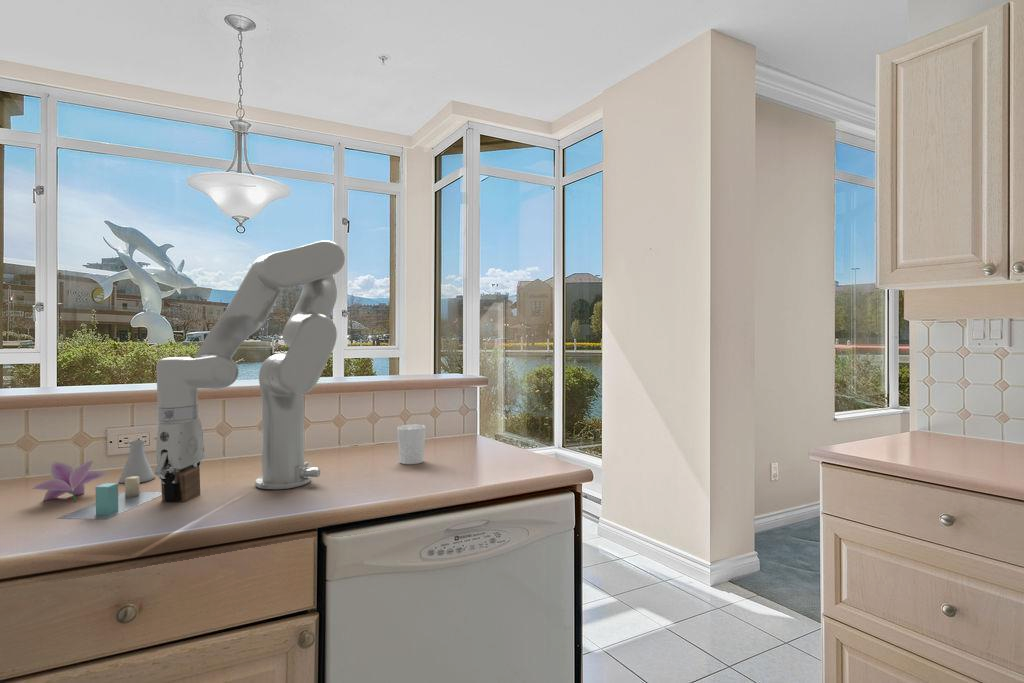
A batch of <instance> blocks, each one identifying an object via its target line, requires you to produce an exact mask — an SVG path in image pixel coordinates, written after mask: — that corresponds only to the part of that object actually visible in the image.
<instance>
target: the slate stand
mask: <svg viewBox="0 0 1024 683" xmlns="http://www.w3.org/2000/svg"><path fill="white" fill-rule="evenodd" d="M124 488H125V489H124V490H125V491H123V492H121V493H118V511H116V512H114V513H111V514H109V515H101V514H96V502H94V503H93V504H90V505H87V506H84V507H82V508H79V509H77V510H74V511H72V512H69V513H67V514H64V515H62V516H59V517H56V519H57V520H58V519H60V520H64V519H65V520H100V521H101V520H103V521H104V520H105V521H106V520H109V519H111V518H113V517H116V516H118V515H120V514H123V513H124V512H128V511H129V510H131V509H134V508H136V507H138V506H140V505H143V504H146V503H148V502H150V501H152V500H154V499H157V498H158V497H162V491H140V490H141V489H140V483H139V476H132V477H127V478H125V484H124Z"/></svg>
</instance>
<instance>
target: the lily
mask: <svg viewBox="0 0 1024 683" xmlns="http://www.w3.org/2000/svg"><path fill="white" fill-rule="evenodd" d="M93 462H94V461H93V460H89V461H86V462H85V463H82V464H80V465H79V466H77V467H75V468H74V467H73V466H72V465H70V464H68V463H67V464H66V463H64V462H60V461H53V462H52V463H51V465H50V477H51V479H48V480H46V481H43V482H41V483H39V484H36V485H34V486H32V487H31V489H33V490H43V491H44V490H45V491H46V490H47V491H46V493H45V495H44V497H43V501H47V500H53V499H58V498H59V497H61V496H62V495H65V494H68V495H72V496H73V500H74V503H75V504H77V503H78V502H77V501H78V500H77V498H76V496H80V495H84V494H85V485H86V484H88V483H90V482H92V481H94V480H98V479H100V478H102V477H105V476H107V475H108V473H107V472H106V471H100V470H90V469H91V467H92V465H93Z"/></svg>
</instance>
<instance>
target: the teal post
mask: <svg viewBox="0 0 1024 683" xmlns="http://www.w3.org/2000/svg"><path fill="white" fill-rule="evenodd" d="M118 494H119V482H118V483H117V482H112V483H110V482H106V483H102V484H99V485H96V486H95V503H96V514H101V515H109V514H111V513H114V512H116V511H118Z"/></svg>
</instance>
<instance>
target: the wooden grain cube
mask: <svg viewBox="0 0 1024 683" xmlns="http://www.w3.org/2000/svg"><path fill="white" fill-rule="evenodd" d="M200 469H201V468H200V466H199V467H186V468H184V469H181V470H179V477H178V482H177V483H180V493H181V500H180V501H179V502H183V503H184V502H188V501H190V500H192V499H194V498H196V497H198V496H200V495H201V474H200V473H201V471H200ZM169 473H170V474H171V475H172V476H173V471H169ZM160 482H161V484H160V486H161V492H162V495H161V501H162V502H165V497H164V484H163V483H162V480H161V479H160ZM179 502H178V503H179Z"/></svg>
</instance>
